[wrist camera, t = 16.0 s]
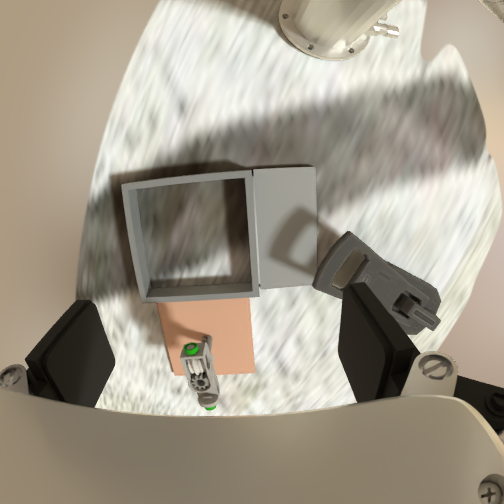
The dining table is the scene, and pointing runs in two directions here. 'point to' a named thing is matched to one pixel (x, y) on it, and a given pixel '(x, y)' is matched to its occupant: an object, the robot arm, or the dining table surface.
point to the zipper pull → (382, 285)
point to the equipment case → (259, 229)
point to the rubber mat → (210, 332)
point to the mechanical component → (201, 371)
